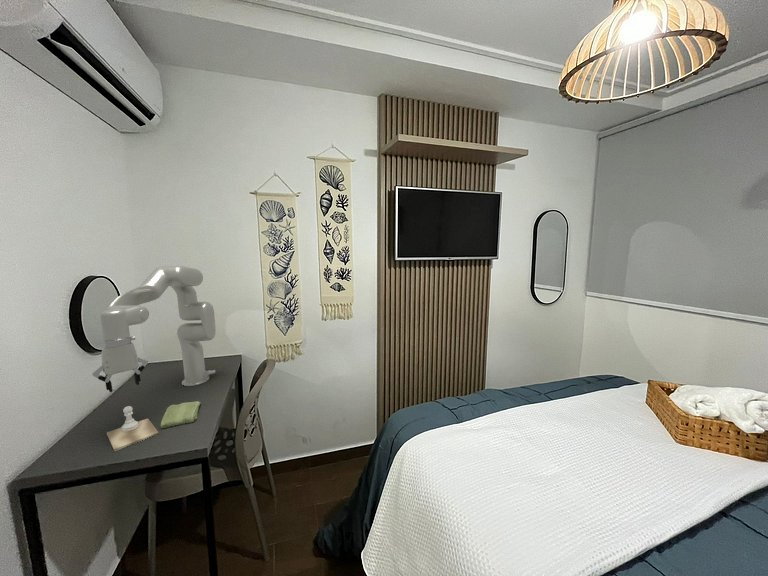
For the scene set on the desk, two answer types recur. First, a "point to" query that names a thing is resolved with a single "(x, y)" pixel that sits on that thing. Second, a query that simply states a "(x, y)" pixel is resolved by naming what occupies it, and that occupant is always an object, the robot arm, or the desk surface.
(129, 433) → the oak pad
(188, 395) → the desk surface
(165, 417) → the washcloth
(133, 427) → the chess pawn
